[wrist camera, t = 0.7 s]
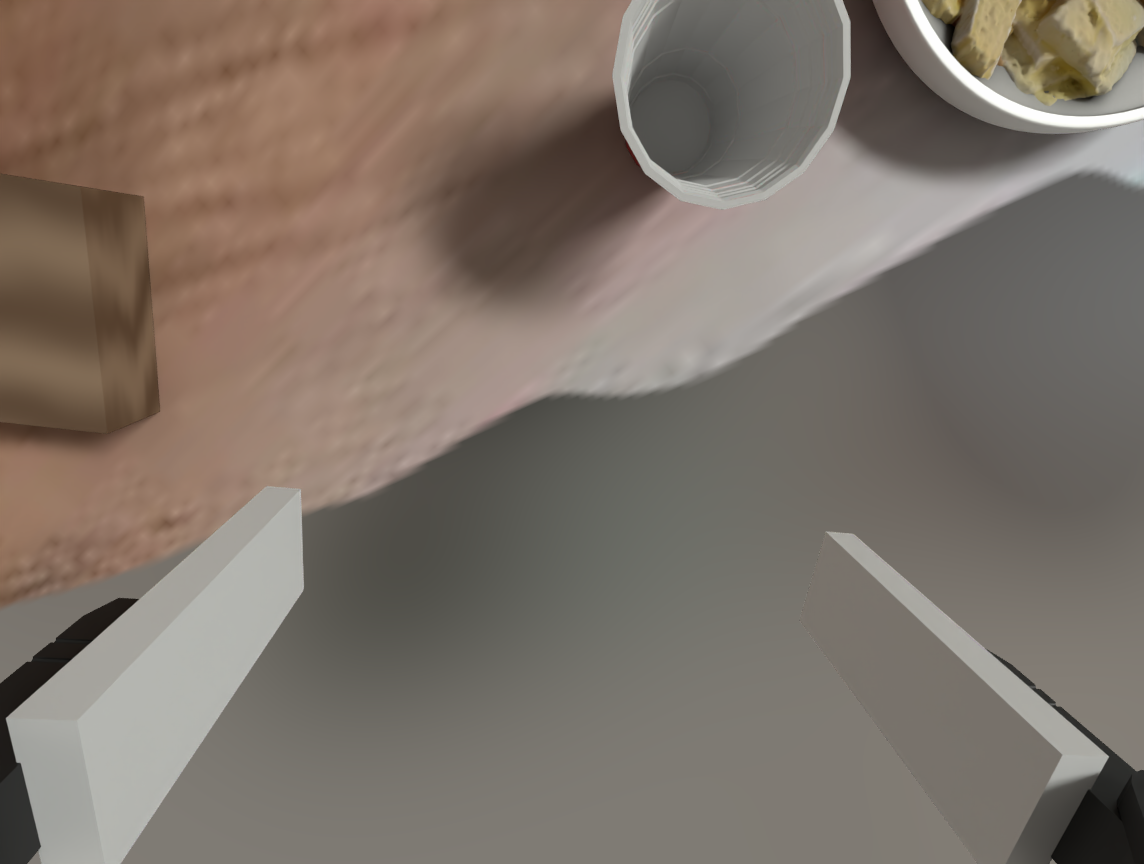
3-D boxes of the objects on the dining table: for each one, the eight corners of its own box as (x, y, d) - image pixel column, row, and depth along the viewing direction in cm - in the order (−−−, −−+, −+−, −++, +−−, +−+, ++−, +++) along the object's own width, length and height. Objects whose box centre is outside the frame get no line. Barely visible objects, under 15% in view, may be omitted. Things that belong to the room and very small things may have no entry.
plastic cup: (622, 249, 37) (665, 247, 25) (558, 79, 33) (572, -10, 22) (772, 181, 36) (883, 147, 25) (721, 0, 33) (823, -134, 21)
